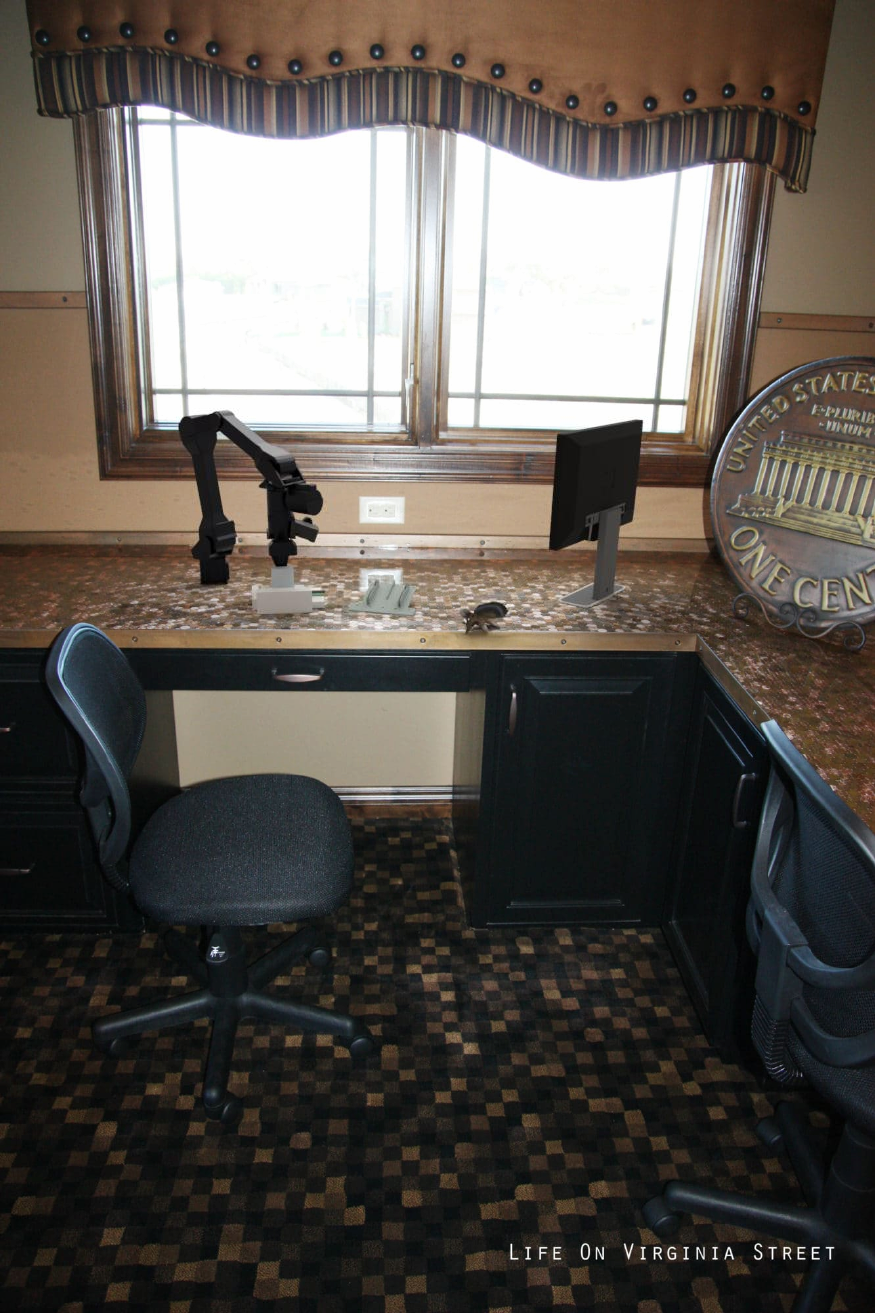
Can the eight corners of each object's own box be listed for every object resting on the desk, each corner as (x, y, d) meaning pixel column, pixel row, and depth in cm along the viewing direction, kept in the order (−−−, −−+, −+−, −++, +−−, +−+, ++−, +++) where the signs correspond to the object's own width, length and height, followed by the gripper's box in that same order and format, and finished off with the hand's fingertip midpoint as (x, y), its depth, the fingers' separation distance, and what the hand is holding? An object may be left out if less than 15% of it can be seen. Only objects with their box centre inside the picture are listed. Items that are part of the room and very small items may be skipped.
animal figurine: (483, 635, 189) (514, 620, 194) (468, 604, 189) (499, 590, 194) (465, 645, 195) (495, 629, 200) (450, 615, 195) (480, 600, 200)
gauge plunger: (261, 603, 207) (260, 571, 204) (261, 598, 210) (259, 566, 208) (325, 601, 209) (325, 570, 207) (324, 596, 213) (323, 565, 210)
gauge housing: (252, 614, 201) (251, 592, 199) (252, 595, 214) (251, 575, 212) (325, 611, 204) (325, 590, 202) (320, 593, 217) (320, 573, 215)
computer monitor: (612, 574, 240) (628, 418, 226) (642, 580, 236) (660, 421, 221) (535, 611, 209) (547, 432, 194) (568, 619, 204) (583, 436, 190)
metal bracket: (363, 573, 215) (425, 578, 212) (365, 593, 218) (426, 599, 215) (345, 606, 204) (411, 612, 201) (348, 628, 207) (412, 634, 204)
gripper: (319, 517, 199) (320, 586, 204) (313, 500, 216) (314, 565, 221) (267, 518, 197) (270, 588, 202) (265, 501, 214) (268, 566, 219)
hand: (282, 576), depth 211 cm, fingers closed
